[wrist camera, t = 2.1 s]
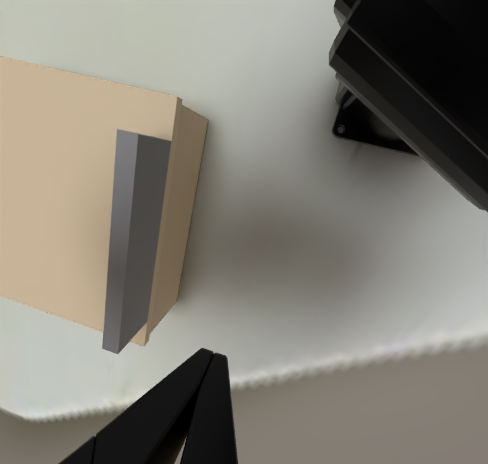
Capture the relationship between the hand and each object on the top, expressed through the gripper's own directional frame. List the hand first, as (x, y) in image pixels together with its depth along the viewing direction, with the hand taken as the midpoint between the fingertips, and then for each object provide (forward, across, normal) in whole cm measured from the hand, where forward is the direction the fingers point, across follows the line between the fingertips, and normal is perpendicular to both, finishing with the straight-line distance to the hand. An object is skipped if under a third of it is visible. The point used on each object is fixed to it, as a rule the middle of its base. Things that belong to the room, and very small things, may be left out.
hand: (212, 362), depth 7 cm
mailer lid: (+8, +13, 0) cm, 15 cm away
